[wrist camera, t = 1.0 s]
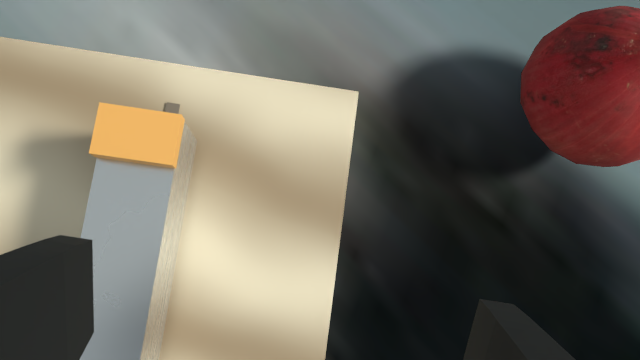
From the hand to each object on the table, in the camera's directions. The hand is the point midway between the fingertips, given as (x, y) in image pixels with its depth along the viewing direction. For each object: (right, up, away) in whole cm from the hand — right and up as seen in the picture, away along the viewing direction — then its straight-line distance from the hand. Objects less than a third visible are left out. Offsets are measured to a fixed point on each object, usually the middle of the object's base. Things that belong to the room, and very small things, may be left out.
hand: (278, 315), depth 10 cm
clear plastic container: (-6, -2, +9) cm, 11 cm away
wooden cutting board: (-9, -3, +11) cm, 15 cm away
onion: (+11, +5, +14) cm, 19 cm away
